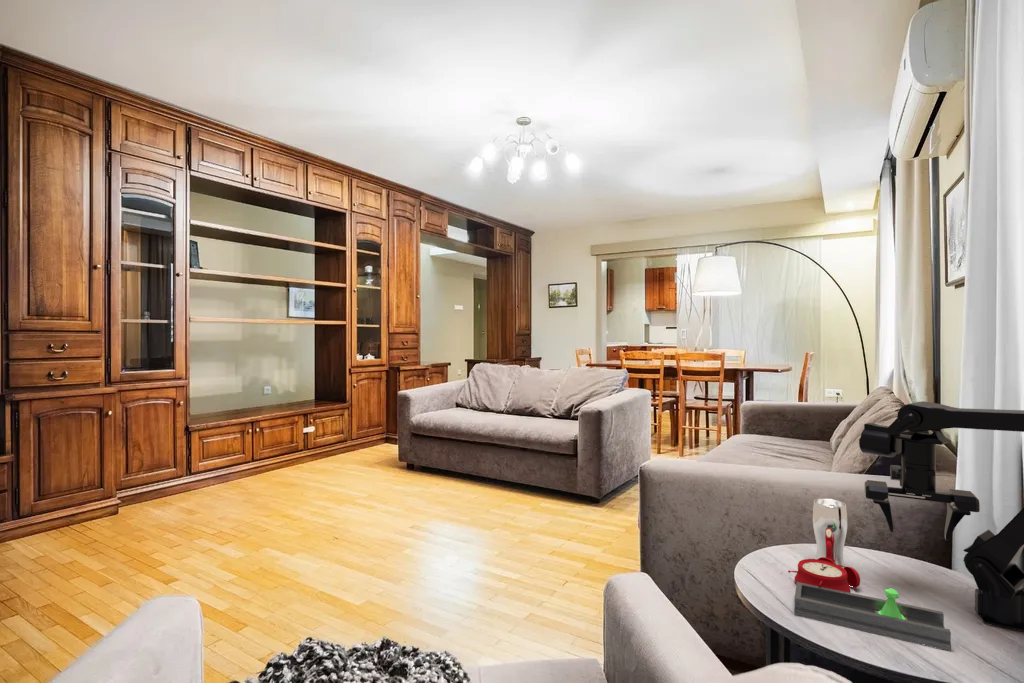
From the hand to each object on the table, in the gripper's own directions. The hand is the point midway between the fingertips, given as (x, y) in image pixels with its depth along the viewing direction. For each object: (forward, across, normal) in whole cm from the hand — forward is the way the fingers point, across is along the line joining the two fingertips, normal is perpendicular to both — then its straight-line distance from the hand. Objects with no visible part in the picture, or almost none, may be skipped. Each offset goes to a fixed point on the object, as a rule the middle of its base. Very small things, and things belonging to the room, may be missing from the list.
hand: (918, 535), depth 111 cm
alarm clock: (+12, +17, +6) cm, 21 cm away
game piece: (+11, +6, +18) cm, 22 cm away
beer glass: (+12, +16, -5) cm, 21 cm away
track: (+12, +10, +18) cm, 24 cm away
